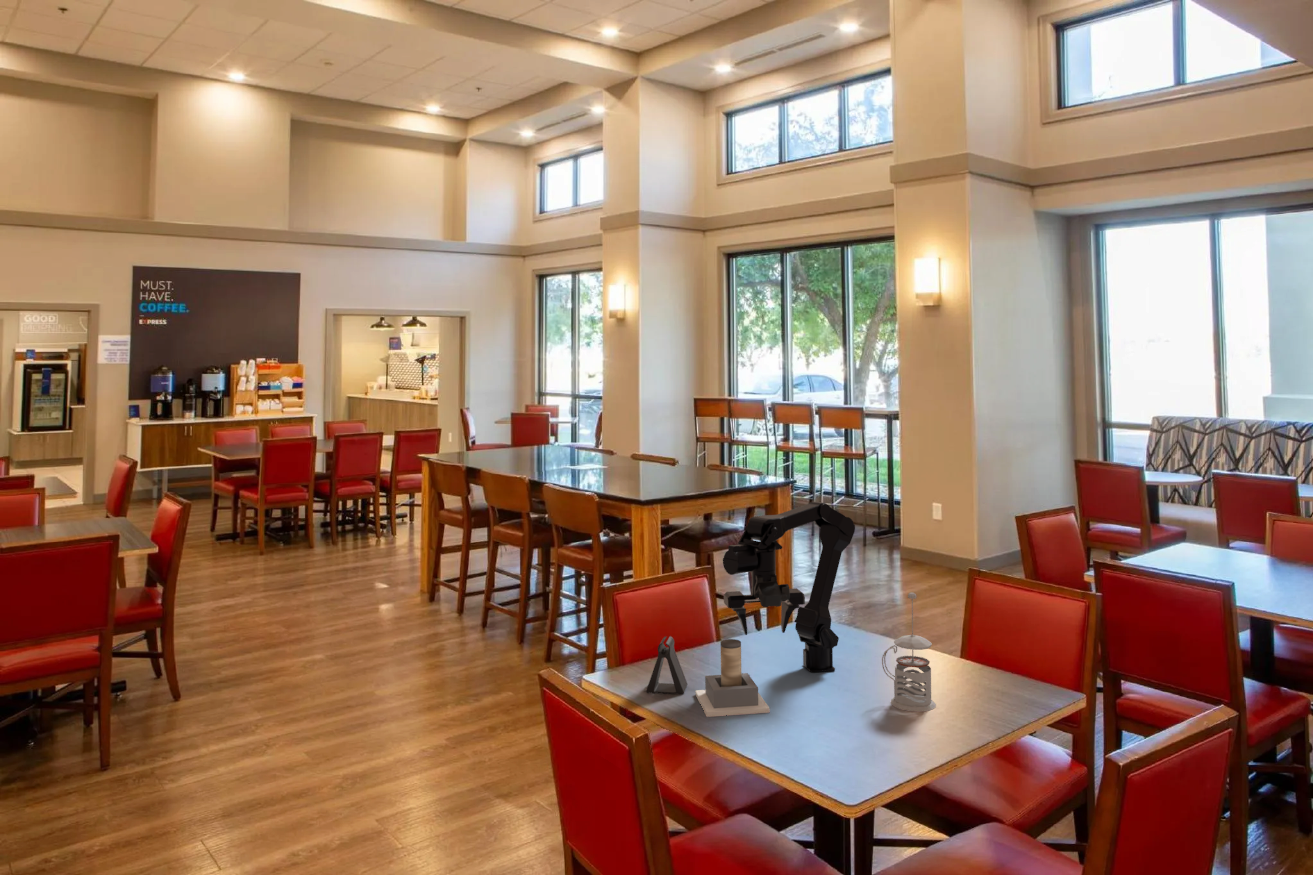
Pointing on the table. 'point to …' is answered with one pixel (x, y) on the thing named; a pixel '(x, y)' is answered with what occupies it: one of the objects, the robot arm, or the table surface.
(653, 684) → the phone stand
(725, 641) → the rail post
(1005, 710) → the table surface
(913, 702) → the french press
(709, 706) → the post socket
